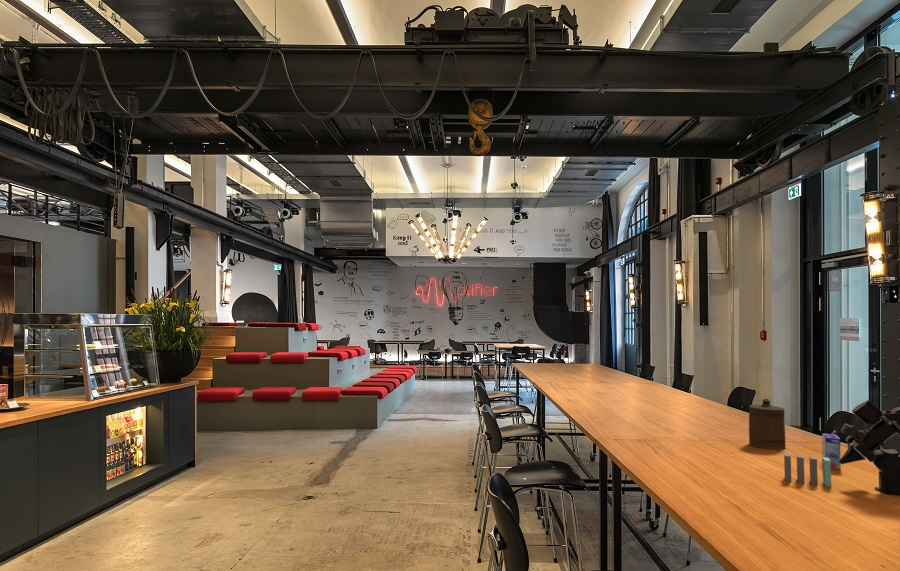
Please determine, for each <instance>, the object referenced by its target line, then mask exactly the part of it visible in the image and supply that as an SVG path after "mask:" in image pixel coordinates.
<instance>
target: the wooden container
mask: <svg viewBox="0 0 900 571" xmlns="http://www.w3.org/2000/svg"><path fill="white" fill-rule="evenodd" d="M771 401H772V400H770V399H769V398H763V399H762V401H761V402H762V403H761V404H750V405H749V406H748V412H749V413H748V436H749V437H748V440H749V441H748V442H749V446H752V447H754V446H755V448H758V447H759V449H764V448H765V450H774V449H780V450H784V449H787V448H786V447H787V446H786V426H785V425H786V424H785V414H786V412H785V408H784V407H781V406H775V405H772V404H771Z"/></svg>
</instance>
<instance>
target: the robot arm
mask: <svg viewBox="0 0 900 571" xmlns="http://www.w3.org/2000/svg"><path fill="white" fill-rule="evenodd" d="M851 413H852V414H853V415H854V416H856V417H857V418H858V419H859V420H860V421H862V422H863V423H864V424H865V425H868V424H869V425H871V427H870V428H869V429H867V428H864V429H862V430H860V428H859V426H856V425H853V424H852V425H850V424H848V423H846V422H845V423H844V424H843V425H842V427H841V429H840V432H841V433H843V434H845V435H847V436H846V437H845V439H846V441H847V443H846V444H847V450H845V452H844V453H843V455H842V456H841V459H840V461H839V462H840V463H841V465H845V464H849V463H853V462H859V461H866V460H868V461H869V462H870V463H872V465H874V466H875V467H876V468H877V469H878V487H877V486H876V487H875V486H874V490H876V491H878V492H880V493H883V494H885V495H897V496H898V495H900V453H899V452H898V451H897V450H896V449H892V448H891V449H890V448H889V449H884V448H882V447H883V446H885V443H886V442H887V441H889V439H891V438H892V437H894V436H895V435H896V434H897V435H898V436H900V427H898V426H900V407H899V406H897V407H893V408H892V409H891V410H889V409H887V410H880V409H879V408H878V407H877V406H876V405H874V404H873V402H871V401H870V400H869V399H867V400H866V401H863V402H862V403H860V404H857V405H856V406H855V407H854V408H853V409H852V410H851ZM884 418H885V419H886V420H888V421H890V422H887V421H886V420H885V419H884ZM894 423H895V424H894ZM896 424H897V425H896ZM880 446H881V447H880ZM879 447H880V448H879ZM877 448H879V449H877Z"/></svg>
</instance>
